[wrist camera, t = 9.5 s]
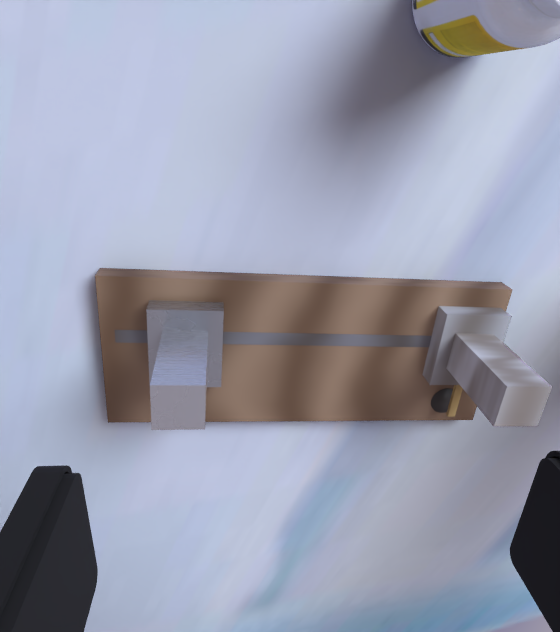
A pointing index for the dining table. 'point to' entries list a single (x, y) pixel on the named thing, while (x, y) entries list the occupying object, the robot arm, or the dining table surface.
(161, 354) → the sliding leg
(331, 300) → the wooden board with posts
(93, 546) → the robot arm
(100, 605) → the dining table surface
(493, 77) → the dining table surface
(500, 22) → the pill bottle
